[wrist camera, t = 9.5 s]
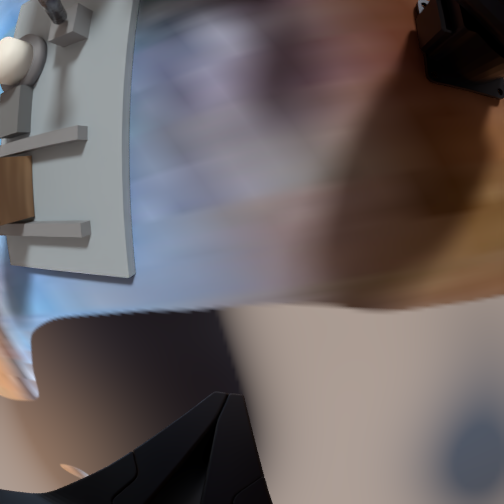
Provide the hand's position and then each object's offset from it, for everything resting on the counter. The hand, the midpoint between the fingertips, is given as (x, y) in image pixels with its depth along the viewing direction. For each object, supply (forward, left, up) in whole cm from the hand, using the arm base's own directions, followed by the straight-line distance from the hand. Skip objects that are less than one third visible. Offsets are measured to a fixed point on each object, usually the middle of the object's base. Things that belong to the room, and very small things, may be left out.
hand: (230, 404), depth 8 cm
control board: (+17, -12, -13) cm, 24 cm away
